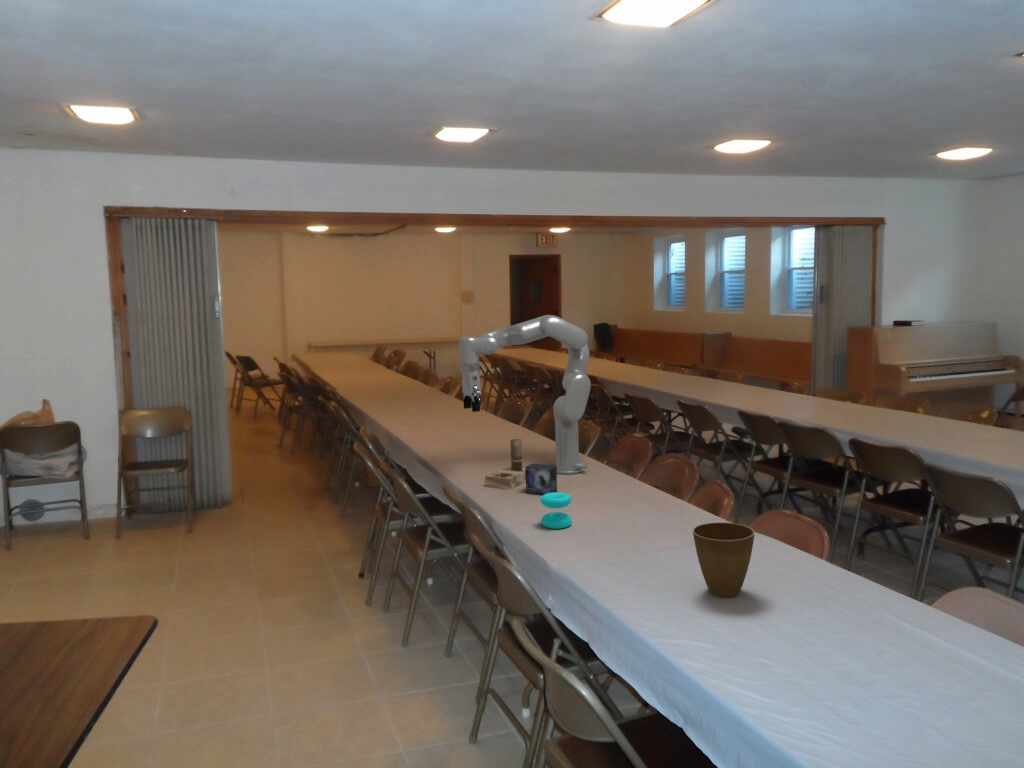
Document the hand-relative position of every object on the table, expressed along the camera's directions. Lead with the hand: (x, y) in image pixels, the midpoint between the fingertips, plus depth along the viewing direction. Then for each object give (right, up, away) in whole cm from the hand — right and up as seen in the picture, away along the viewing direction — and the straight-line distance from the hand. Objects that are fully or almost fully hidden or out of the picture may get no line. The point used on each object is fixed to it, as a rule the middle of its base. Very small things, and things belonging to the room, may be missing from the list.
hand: (471, 409), depth 324 cm
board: (+16, -29, -4) cm, 33 cm away
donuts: (+31, -36, -62) cm, 78 cm away
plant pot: (+69, -42, -121) cm, 146 cm away
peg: (+18, -24, -1) cm, 30 cm away
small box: (+27, -31, -22) cm, 46 cm away
